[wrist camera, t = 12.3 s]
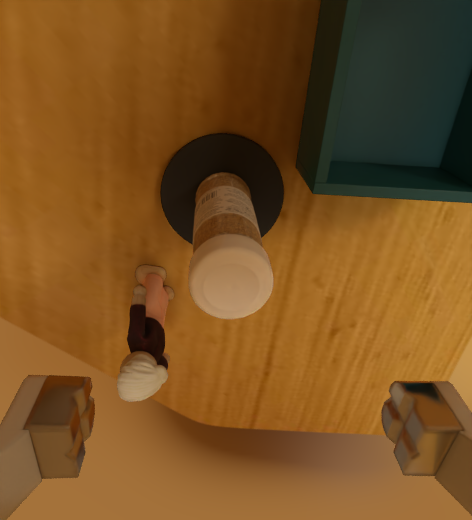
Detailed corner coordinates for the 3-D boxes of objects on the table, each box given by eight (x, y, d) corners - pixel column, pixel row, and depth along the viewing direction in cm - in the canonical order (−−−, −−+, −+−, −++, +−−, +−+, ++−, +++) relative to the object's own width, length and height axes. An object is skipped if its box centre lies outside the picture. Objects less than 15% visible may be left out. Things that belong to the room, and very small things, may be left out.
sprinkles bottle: (214, 232, 34) (217, 335, 23) (184, 188, 32) (170, 276, 21) (261, 205, 34) (289, 299, 22) (233, 158, 31) (248, 233, 20)
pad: (160, 128, 31) (159, 130, 30) (291, 137, 31) (292, 139, 31) (161, 246, 35) (161, 249, 35) (274, 251, 36) (275, 254, 36)
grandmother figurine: (116, 263, 36) (76, 366, 25) (155, 248, 35) (132, 345, 24) (157, 326, 40) (137, 439, 29) (193, 312, 39) (187, 423, 28)
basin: (333, -81, 25) (367, -112, 20) (523, -58, 26) (604, -81, 21) (295, 167, 33) (312, 194, 27) (444, 176, 34) (488, 204, 28)
